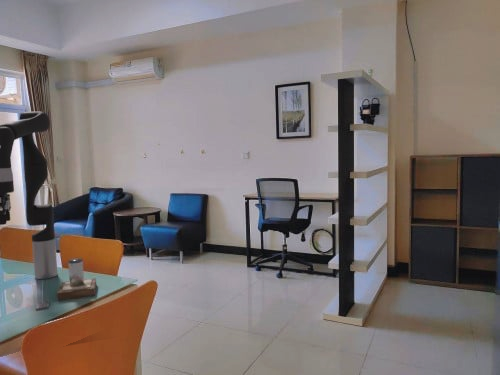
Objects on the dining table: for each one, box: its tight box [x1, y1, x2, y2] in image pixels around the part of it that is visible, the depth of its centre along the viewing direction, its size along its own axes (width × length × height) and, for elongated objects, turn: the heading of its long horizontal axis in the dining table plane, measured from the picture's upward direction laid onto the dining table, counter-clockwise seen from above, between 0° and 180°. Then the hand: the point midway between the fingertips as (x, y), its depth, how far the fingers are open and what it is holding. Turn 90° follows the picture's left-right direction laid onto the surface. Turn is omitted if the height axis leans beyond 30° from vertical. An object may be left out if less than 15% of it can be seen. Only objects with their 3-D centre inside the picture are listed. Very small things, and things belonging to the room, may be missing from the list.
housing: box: [68, 257, 85, 287], centre depth 151 cm, size 5×5×10 cm
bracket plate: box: [35, 300, 50, 311], centre depth 139 cm, size 6×4×1 cm, turn 25°
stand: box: [56, 278, 97, 302], centre depth 152 cm, size 13×13×3 cm
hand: (5, 222), depth 144 cm, fingers open, 8 cm apart
